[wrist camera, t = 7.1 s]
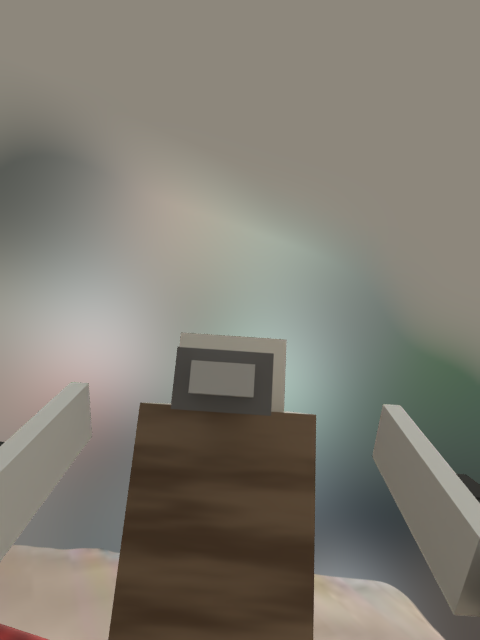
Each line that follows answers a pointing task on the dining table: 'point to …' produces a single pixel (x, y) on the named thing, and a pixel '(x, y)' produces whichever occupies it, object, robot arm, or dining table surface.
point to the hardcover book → (16, 634)
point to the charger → (229, 374)
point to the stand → (218, 528)
